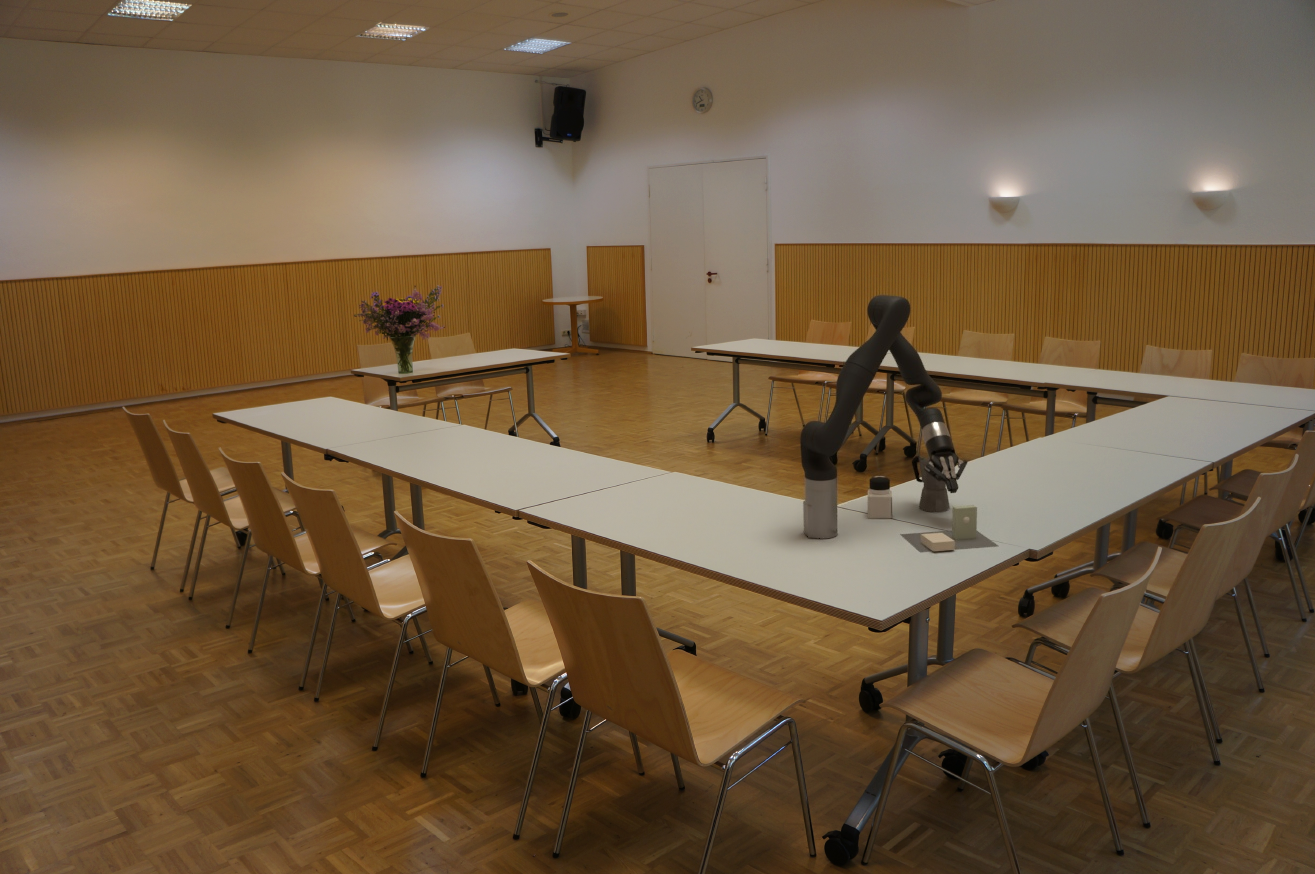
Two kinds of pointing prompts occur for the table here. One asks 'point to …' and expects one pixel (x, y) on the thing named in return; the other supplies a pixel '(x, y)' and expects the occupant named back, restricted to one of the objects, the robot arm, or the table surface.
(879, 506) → the medicine bottle
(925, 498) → the coffeepot
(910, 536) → the slate mat
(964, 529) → the one-dot tile
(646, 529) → the table surface
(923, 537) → the plain beige block
